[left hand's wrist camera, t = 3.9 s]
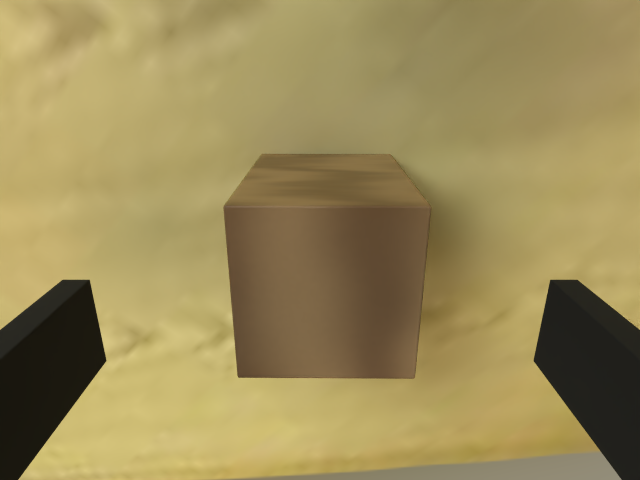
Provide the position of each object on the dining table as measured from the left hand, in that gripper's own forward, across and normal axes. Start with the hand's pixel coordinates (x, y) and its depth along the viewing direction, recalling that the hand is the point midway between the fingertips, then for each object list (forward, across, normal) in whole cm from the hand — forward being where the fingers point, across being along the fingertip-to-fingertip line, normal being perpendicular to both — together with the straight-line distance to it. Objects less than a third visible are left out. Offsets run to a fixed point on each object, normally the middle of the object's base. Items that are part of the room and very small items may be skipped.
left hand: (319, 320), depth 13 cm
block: (+9, 0, 0) cm, 9 cm away
